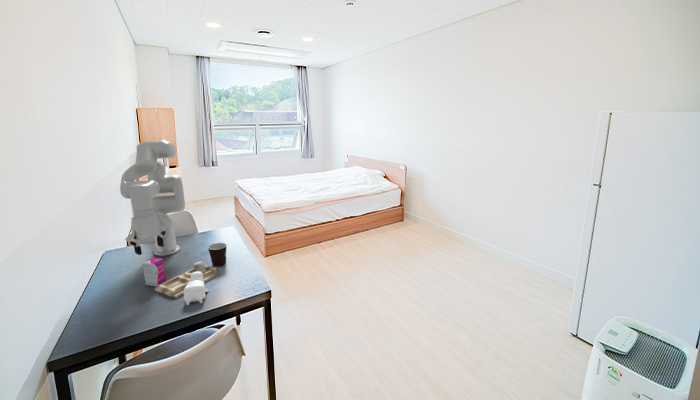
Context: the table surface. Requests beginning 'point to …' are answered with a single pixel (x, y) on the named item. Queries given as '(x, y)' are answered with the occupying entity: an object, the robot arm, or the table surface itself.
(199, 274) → the white figurine
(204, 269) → the beech caddy
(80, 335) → the table surface
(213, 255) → the coffee mug
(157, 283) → the supplement box
